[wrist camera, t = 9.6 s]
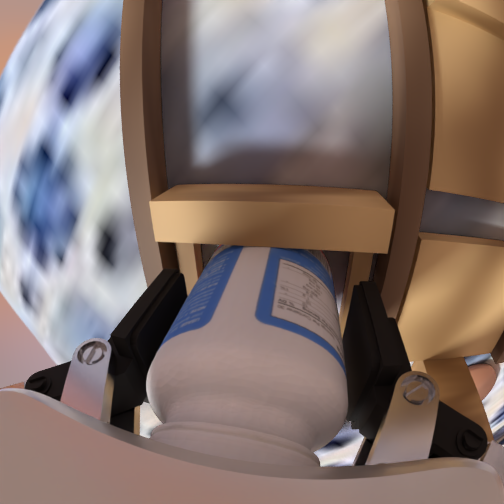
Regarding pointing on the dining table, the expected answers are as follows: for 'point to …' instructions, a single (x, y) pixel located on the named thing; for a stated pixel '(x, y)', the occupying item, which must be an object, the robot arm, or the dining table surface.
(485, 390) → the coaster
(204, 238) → the slat bottle lane
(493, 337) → the tan wooden block
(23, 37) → the dining table surface
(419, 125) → the lane rails
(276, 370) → the pill bottle
